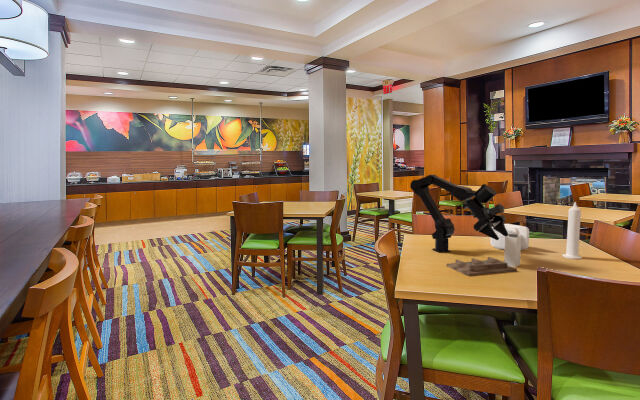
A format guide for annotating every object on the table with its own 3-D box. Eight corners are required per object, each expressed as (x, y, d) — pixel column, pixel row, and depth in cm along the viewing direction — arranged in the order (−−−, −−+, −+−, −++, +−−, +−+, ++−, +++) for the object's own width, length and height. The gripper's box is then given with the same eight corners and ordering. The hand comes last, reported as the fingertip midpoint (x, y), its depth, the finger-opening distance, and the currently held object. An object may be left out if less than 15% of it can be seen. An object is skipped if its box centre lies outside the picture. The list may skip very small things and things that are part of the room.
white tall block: (504, 264, 153) (505, 234, 151) (508, 262, 156) (510, 232, 154) (515, 267, 149) (516, 235, 148) (519, 265, 152) (521, 234, 151)
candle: (579, 256, 166) (583, 201, 163) (583, 259, 159) (586, 203, 157) (561, 254, 169) (564, 200, 166) (564, 258, 162) (567, 202, 160)
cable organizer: (530, 251, 176) (531, 227, 175) (515, 253, 171) (516, 229, 170) (503, 245, 189) (504, 223, 188) (488, 247, 185) (489, 224, 184)
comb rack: (446, 266, 151) (446, 259, 151) (491, 262, 157) (491, 255, 157) (468, 275, 138) (468, 268, 138) (516, 271, 143) (517, 263, 143)
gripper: (481, 199, 151) (507, 229, 144) (501, 196, 163) (527, 223, 155) (463, 216, 158) (487, 245, 150) (484, 212, 170) (507, 239, 162)
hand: (503, 238), depth 154 cm, fingers open, 9 cm apart
